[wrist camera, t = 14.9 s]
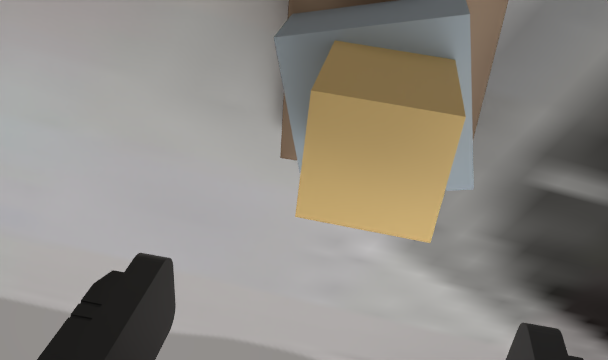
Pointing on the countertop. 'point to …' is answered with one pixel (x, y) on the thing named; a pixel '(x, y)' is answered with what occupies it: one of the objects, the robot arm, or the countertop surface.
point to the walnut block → (484, 37)
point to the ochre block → (380, 140)
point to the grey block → (385, 34)
